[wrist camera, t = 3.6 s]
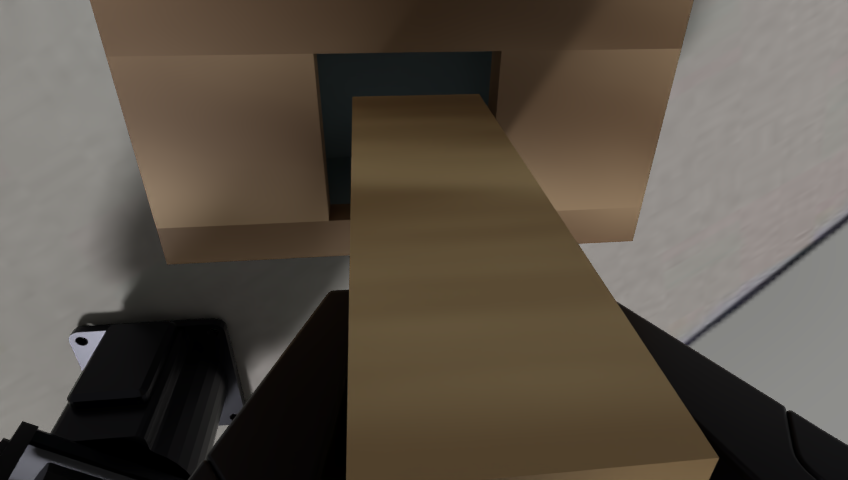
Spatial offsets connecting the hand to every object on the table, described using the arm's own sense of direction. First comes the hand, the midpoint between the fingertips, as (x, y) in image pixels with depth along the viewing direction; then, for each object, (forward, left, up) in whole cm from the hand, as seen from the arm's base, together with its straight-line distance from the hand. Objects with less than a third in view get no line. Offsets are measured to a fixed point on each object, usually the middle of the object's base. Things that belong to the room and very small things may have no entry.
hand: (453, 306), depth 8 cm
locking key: (0, 0, -6) cm, 6 cm away
